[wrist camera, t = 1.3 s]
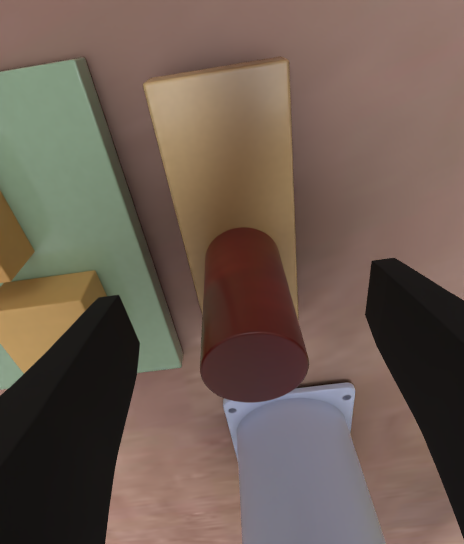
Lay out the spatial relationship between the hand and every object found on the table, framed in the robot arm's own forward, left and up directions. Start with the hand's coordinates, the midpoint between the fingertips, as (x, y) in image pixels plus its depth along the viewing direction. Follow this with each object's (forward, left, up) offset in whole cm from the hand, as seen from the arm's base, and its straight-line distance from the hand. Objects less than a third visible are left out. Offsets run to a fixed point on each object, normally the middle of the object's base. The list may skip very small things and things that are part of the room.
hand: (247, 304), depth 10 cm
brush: (0, 0, -5) cm, 5 cm away
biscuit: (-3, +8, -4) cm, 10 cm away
